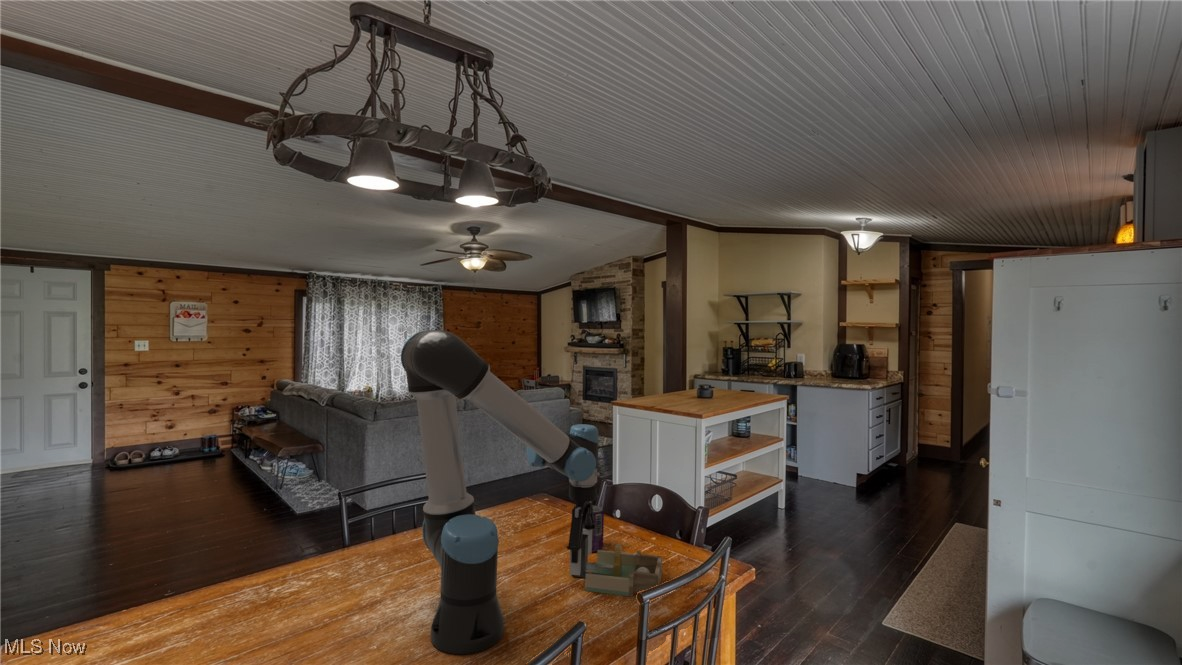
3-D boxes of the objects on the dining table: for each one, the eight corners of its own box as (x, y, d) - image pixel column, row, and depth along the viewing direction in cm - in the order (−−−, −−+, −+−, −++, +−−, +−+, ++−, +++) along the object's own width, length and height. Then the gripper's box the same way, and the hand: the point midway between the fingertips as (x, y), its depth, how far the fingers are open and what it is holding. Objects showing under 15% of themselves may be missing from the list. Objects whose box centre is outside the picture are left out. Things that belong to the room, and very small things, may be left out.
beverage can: (603, 544, 163) (604, 505, 163) (602, 554, 156) (603, 513, 156) (580, 543, 163) (581, 504, 163) (578, 552, 156) (579, 511, 156)
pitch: (628, 596, 131) (629, 580, 131) (585, 590, 133) (585, 574, 133) (636, 568, 147) (637, 554, 147) (597, 564, 149) (598, 549, 149)
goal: (657, 600, 129) (657, 579, 129) (628, 596, 131) (629, 576, 131) (662, 571, 145) (662, 553, 145) (636, 568, 147) (637, 550, 147)
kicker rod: (618, 584, 137) (619, 545, 137) (570, 578, 139) (571, 539, 139) (622, 574, 142) (622, 536, 142) (575, 568, 145) (576, 531, 145)
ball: (634, 570, 137) (634, 585, 137) (649, 571, 136) (649, 587, 136) (636, 563, 141) (636, 578, 141) (651, 565, 140) (651, 580, 140)
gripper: (586, 498, 129) (584, 586, 129) (605, 472, 153) (603, 546, 153) (556, 495, 130) (554, 582, 130) (580, 470, 155) (578, 543, 155)
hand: (581, 563), depth 142 cm, fingers open, 13 cm apart
